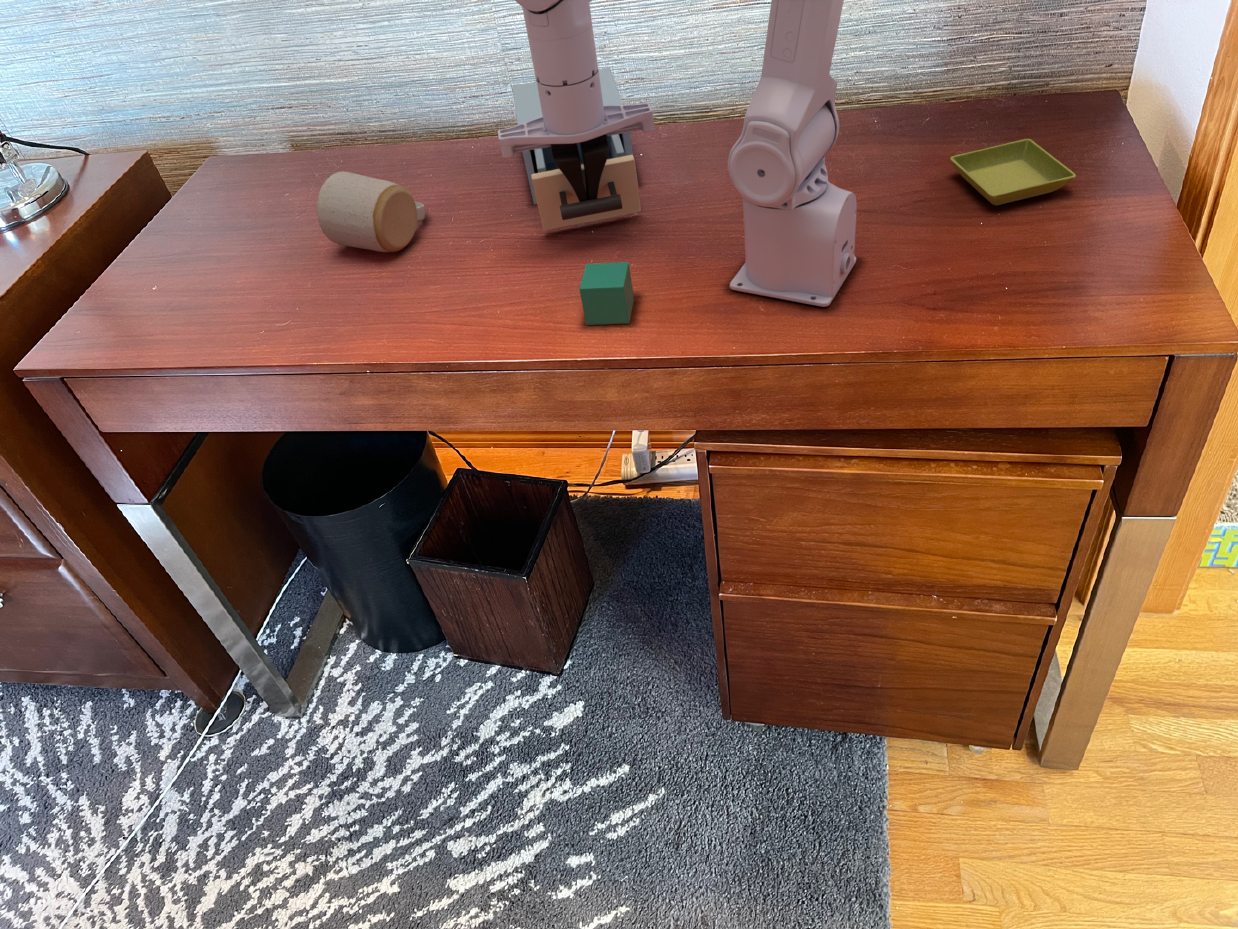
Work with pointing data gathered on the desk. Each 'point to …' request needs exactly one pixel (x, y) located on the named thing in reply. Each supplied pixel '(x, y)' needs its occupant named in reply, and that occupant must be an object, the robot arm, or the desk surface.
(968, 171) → the olive green square dish
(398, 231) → the ceramic mug
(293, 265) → the desk surface
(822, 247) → the robot arm
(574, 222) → the drawer
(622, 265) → the green cube
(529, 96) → the grey cabinet
